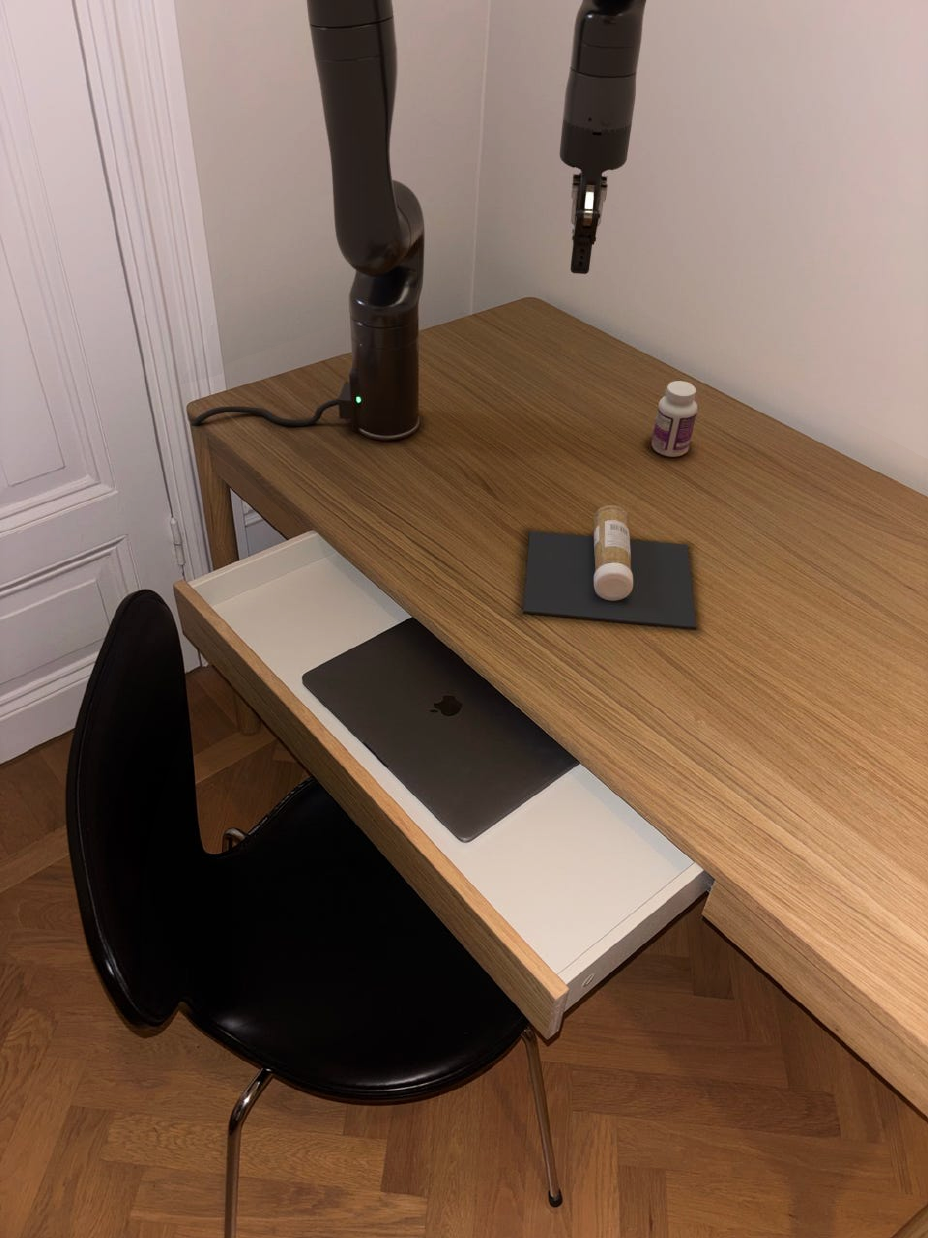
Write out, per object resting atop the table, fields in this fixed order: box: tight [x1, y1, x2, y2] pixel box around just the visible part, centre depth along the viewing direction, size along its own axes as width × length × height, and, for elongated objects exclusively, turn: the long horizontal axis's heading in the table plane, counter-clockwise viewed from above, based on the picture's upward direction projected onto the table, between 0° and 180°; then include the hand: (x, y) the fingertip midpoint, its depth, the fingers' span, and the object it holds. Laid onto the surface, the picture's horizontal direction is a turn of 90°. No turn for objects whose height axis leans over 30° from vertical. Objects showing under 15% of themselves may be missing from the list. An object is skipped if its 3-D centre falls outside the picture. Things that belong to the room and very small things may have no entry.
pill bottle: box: [651, 380, 698, 458], centre depth 133 cm, size 5×5×10 cm
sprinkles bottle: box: [592, 504, 633, 601], centre depth 115 cm, size 5×5×14 cm
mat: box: [522, 530, 697, 630], centre depth 115 cm, size 20×15×1 cm
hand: (579, 270), depth 115 cm, fingers closed
